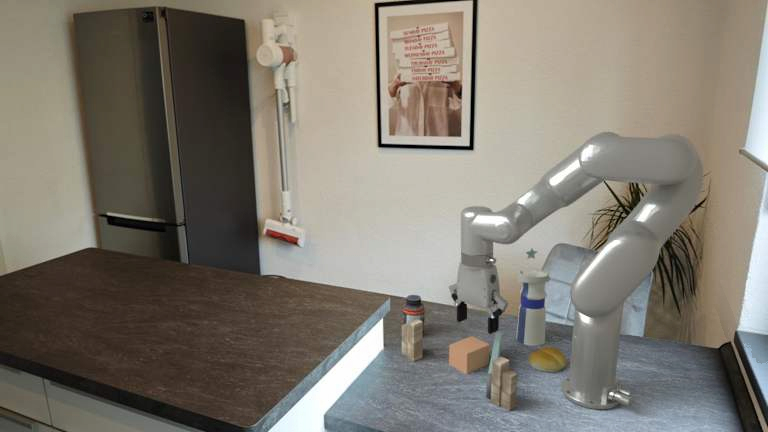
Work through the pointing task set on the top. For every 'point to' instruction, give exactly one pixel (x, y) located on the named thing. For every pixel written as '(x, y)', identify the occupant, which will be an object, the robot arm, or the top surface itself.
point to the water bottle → (532, 306)
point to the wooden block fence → (501, 375)
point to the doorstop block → (469, 354)
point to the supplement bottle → (413, 310)
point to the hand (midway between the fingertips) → (477, 326)
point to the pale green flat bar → (495, 354)
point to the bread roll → (548, 360)
